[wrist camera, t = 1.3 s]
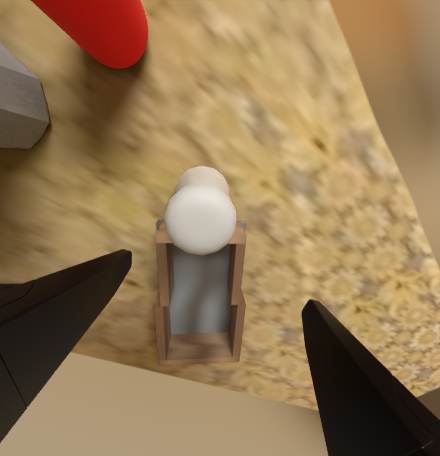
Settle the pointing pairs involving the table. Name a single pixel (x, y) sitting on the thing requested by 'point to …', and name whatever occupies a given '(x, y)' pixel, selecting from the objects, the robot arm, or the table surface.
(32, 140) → the coffeepot
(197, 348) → the brown wooden rectangular tray
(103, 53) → the beverage can
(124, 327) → the table surface
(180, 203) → the salt shaker
